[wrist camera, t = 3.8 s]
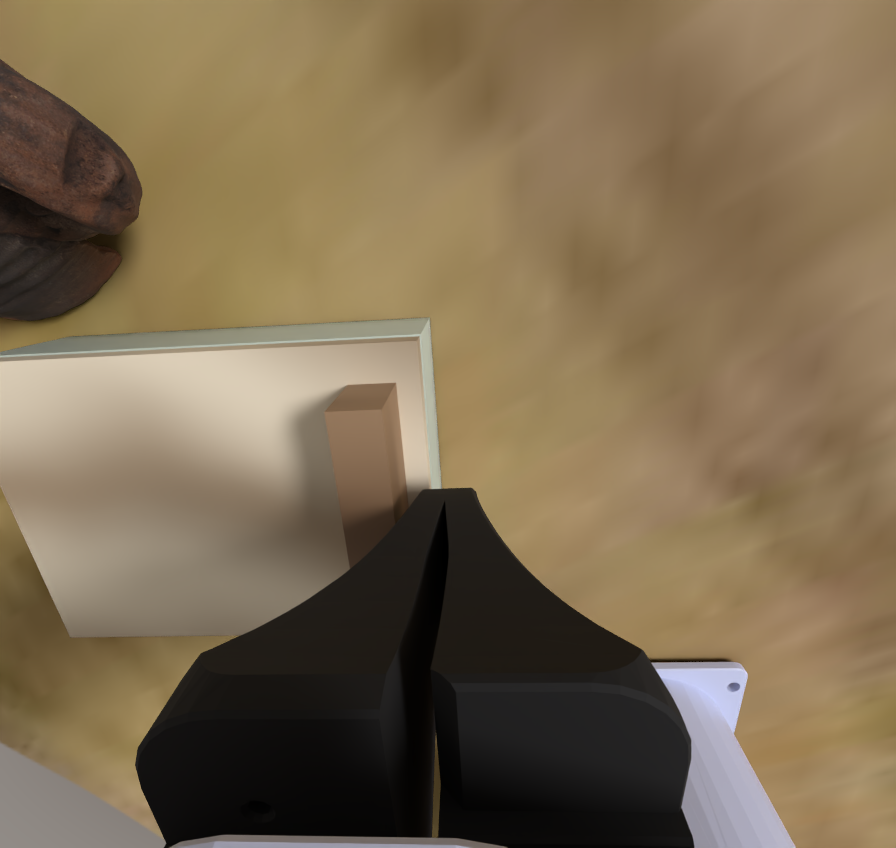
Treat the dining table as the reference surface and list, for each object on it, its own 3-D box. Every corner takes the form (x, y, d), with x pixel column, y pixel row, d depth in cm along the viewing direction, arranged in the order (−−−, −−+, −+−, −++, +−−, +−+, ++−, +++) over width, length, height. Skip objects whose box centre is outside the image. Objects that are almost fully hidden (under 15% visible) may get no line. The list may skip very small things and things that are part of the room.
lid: (442, 617, 15) (436, 691, 12) (84, 623, 15) (13, 693, 13) (419, 336, 11) (406, 360, 9) (-32, 358, 12) (-158, 387, 10)
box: (446, 553, 18) (442, 611, 15) (149, 560, 18) (91, 616, 16) (429, 317, 14) (420, 333, 12) (70, 336, 15) (-21, 356, 12)
